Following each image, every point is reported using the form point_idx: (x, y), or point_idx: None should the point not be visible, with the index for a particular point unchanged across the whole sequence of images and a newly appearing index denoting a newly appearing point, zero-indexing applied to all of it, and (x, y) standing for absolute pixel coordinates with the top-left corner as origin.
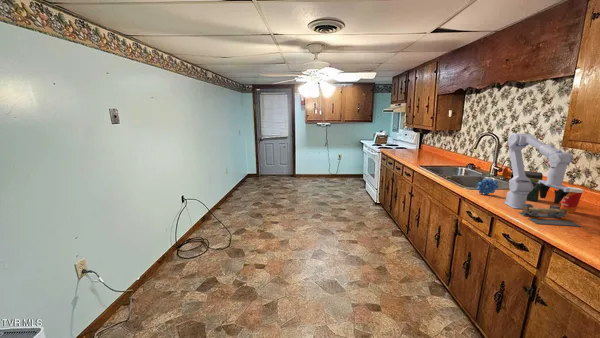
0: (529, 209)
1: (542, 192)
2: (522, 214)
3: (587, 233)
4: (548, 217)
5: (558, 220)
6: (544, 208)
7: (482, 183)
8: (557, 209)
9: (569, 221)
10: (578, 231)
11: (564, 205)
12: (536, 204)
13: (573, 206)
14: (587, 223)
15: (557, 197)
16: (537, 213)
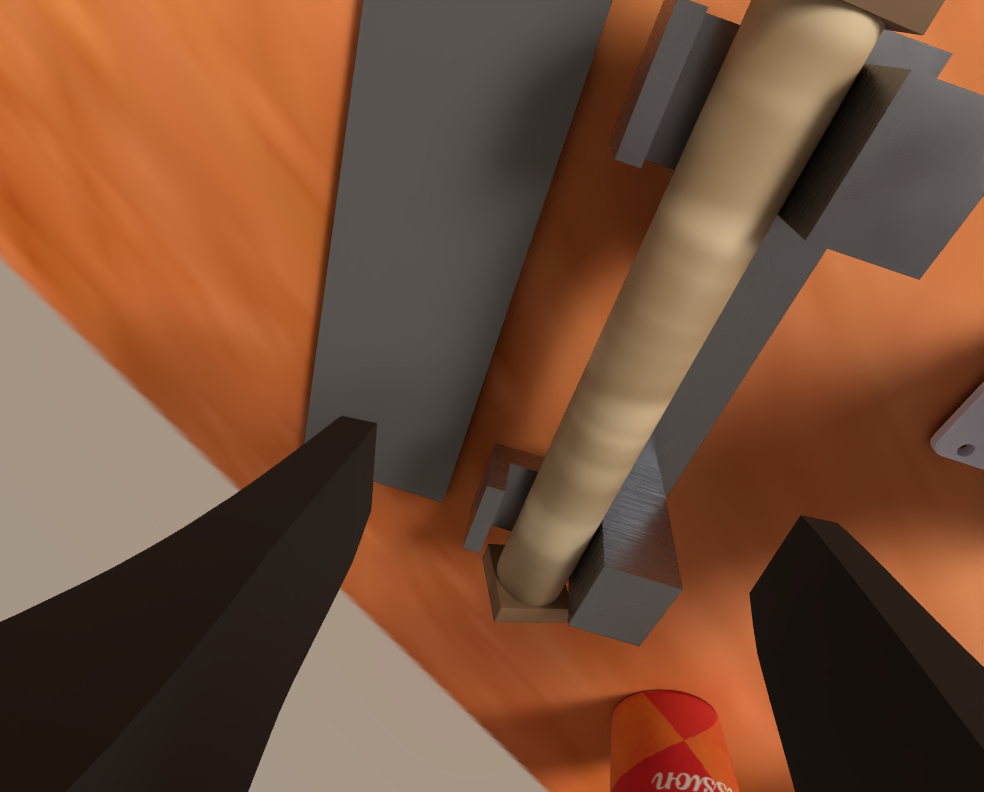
0: (766, 8)
1: (906, 728)
2: None
3: (115, 312)
4: None
5: (466, 384)
6: (639, 387)
7: None
8: (545, 538)
9: (424, 474)
10: (157, 269)
11: (688, 768)
12: None
13: (619, 789)
14: (386, 586)
15: (159, 550)
16: (616, 144)
